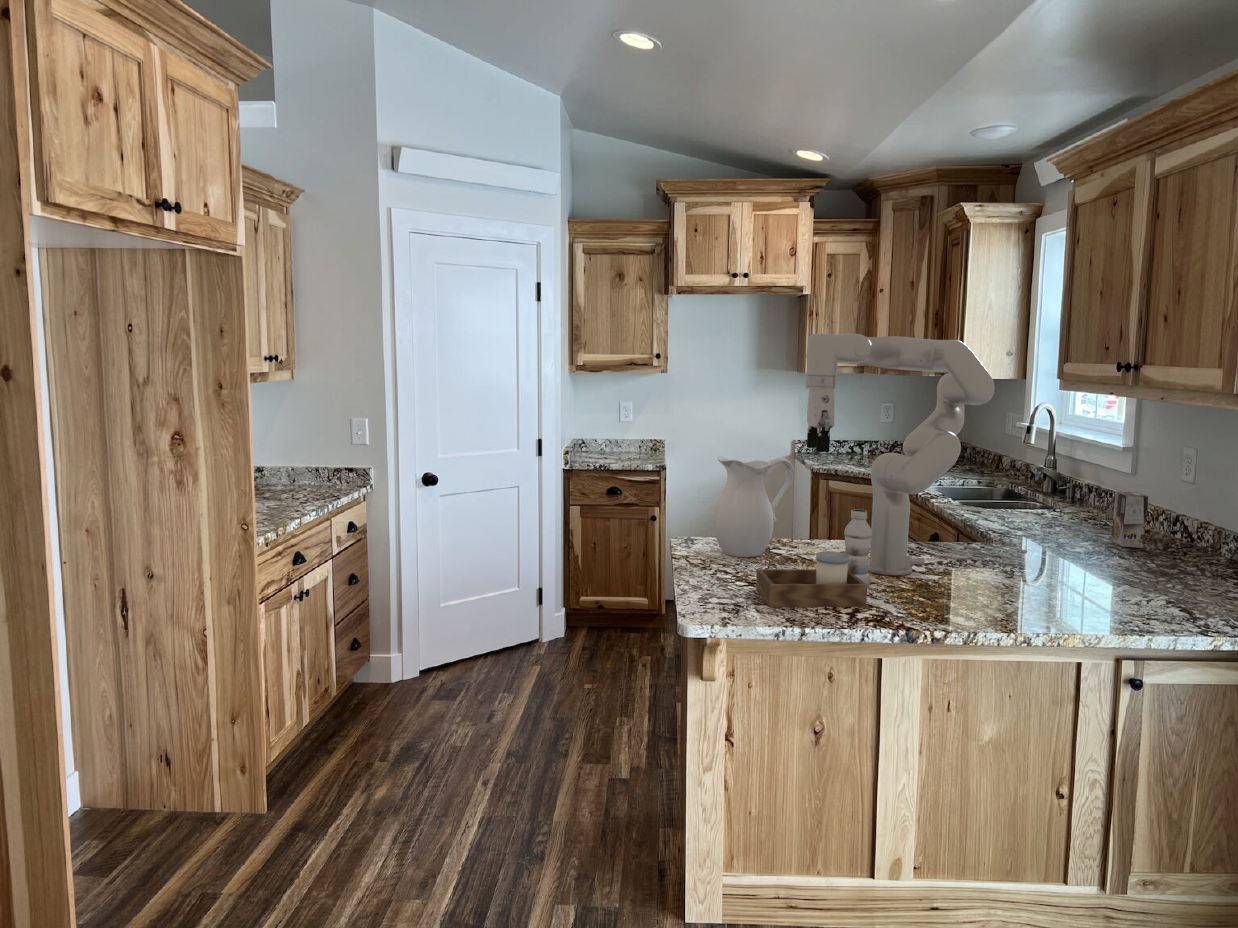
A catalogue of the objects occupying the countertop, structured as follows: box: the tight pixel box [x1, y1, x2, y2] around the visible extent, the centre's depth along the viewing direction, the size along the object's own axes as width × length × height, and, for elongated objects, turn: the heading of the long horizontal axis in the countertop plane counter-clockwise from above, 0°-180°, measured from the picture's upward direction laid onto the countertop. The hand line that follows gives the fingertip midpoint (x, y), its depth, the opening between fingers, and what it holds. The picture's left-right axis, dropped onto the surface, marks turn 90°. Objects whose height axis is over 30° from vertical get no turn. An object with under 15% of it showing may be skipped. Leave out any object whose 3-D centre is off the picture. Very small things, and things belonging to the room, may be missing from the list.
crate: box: [755, 568, 868, 608], centre depth 196 cm, size 22×14×6 cm, turn 94°
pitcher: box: [713, 456, 795, 558], centre depth 243 cm, size 24×17×28 cm
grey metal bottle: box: [843, 508, 872, 589], centre depth 205 cm, size 6×7×20 cm
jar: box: [815, 550, 849, 584], centre depth 196 cm, size 7×7×10 cm
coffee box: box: [1110, 491, 1149, 549], centre depth 263 cm, size 9×6×16 cm
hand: (817, 449), depth 216 cm, fingers open, 9 cm apart
